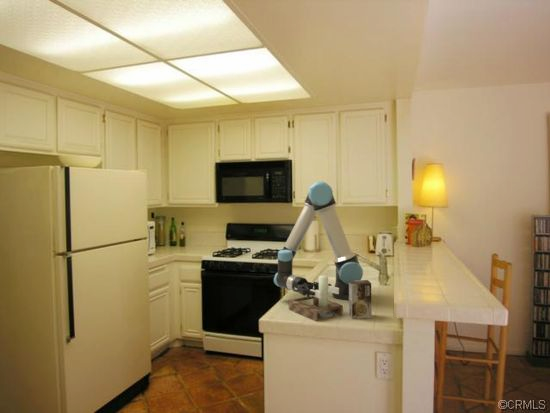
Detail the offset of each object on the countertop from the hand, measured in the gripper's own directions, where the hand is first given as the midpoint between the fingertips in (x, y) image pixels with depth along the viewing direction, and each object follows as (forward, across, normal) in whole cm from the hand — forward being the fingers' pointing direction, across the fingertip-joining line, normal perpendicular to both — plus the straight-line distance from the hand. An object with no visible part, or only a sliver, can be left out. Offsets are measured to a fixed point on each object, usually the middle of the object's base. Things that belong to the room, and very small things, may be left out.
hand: (329, 293), depth 174 cm
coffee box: (+7, -12, -11) cm, 18 cm away
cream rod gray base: (-4, 0, -11) cm, 12 cm away
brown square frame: (-10, -1, -11) cm, 15 cm away
